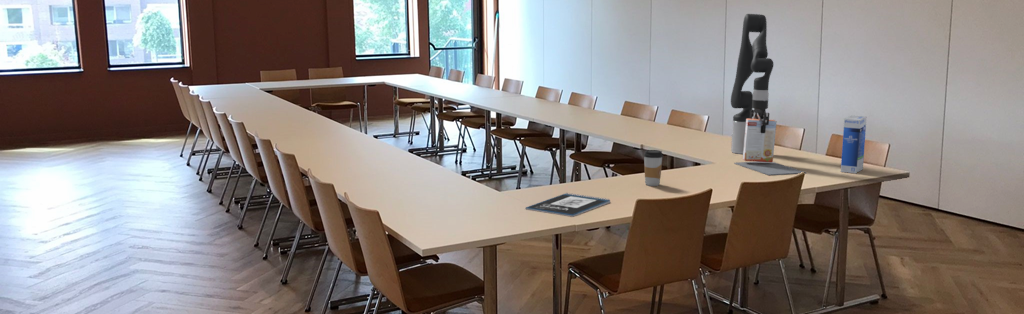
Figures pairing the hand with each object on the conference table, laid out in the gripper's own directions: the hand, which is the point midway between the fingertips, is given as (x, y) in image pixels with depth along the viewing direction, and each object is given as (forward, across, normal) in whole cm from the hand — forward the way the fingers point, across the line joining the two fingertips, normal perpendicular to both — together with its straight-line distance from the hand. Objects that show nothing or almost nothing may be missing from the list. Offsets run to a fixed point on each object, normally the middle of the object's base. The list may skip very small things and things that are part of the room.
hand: (758, 132), depth 431 cm
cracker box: (+15, 0, 0) cm, 15 cm away
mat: (+16, +11, 0) cm, 20 cm away
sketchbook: (+17, +61, -120) cm, 136 cm away
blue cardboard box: (+17, +27, +35) cm, 47 cm away
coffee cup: (+16, +32, -71) cm, 80 cm away
